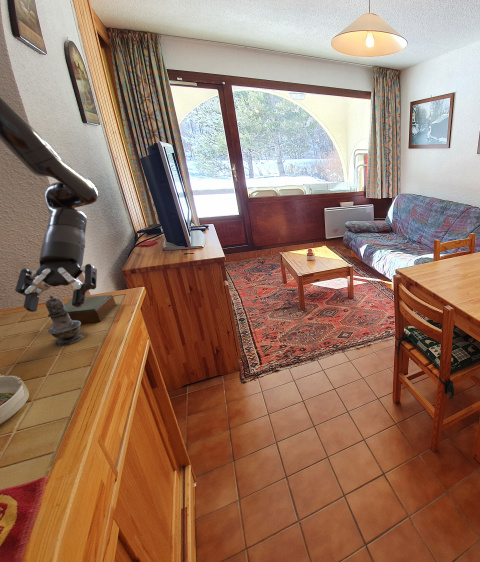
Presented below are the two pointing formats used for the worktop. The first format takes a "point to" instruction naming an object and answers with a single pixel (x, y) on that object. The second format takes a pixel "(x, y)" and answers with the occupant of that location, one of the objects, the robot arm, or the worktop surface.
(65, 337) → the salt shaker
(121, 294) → the worktop surface
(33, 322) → the worktop surface
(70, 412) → the worktop surface
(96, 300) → the walnut stand
